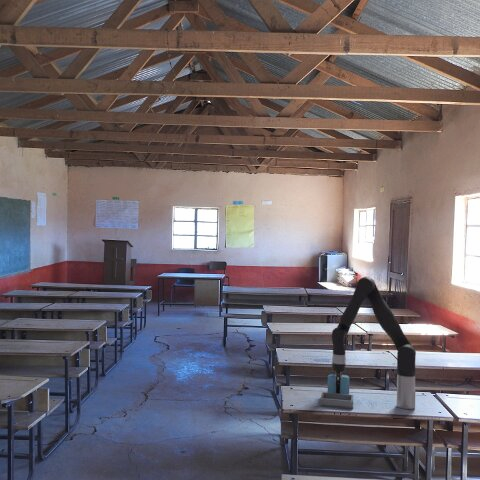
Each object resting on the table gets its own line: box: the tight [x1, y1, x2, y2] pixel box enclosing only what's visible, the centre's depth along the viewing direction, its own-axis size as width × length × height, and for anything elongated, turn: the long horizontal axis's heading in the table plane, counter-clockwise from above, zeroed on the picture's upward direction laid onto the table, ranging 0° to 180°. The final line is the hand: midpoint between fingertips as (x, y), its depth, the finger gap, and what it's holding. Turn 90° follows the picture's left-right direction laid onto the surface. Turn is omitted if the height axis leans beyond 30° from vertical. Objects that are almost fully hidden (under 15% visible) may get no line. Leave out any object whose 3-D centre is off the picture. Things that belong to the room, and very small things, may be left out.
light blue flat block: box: [326, 373, 350, 395], centre depth 284 cm, size 12×4×12 cm, turn 80°
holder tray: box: [319, 391, 354, 410], centre depth 272 cm, size 17×12×4 cm
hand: (338, 391), depth 284 cm, fingers closed on light blue flat block, 4 cm apart
